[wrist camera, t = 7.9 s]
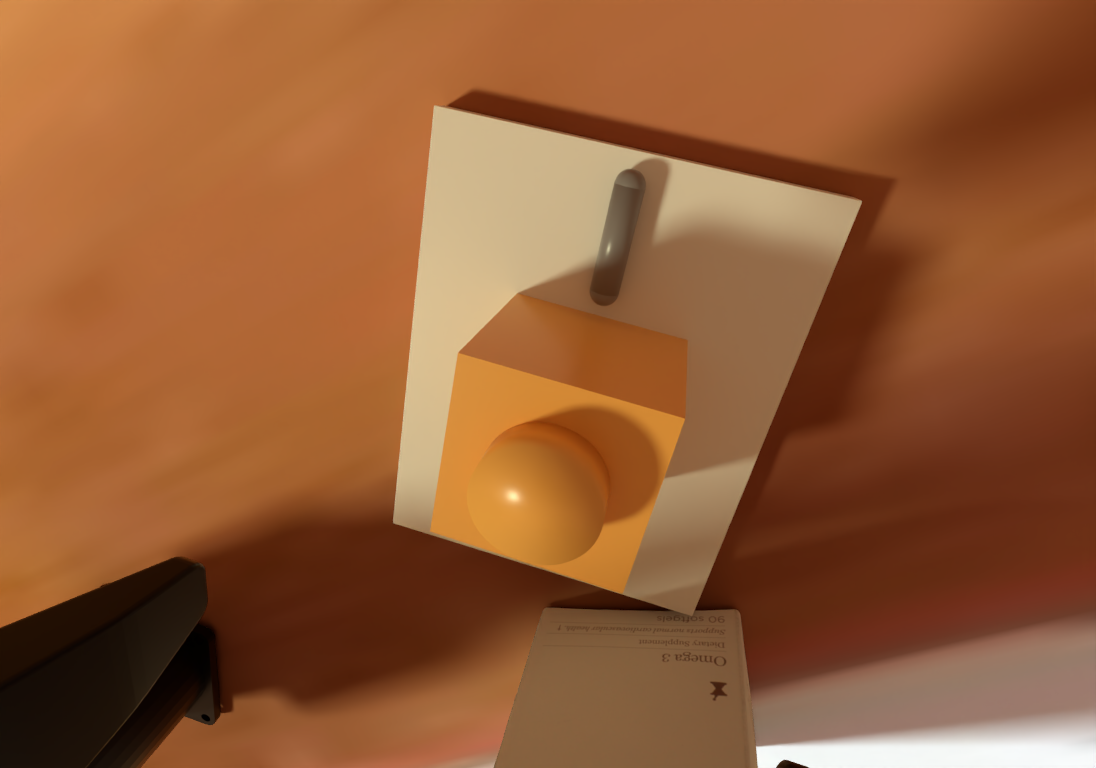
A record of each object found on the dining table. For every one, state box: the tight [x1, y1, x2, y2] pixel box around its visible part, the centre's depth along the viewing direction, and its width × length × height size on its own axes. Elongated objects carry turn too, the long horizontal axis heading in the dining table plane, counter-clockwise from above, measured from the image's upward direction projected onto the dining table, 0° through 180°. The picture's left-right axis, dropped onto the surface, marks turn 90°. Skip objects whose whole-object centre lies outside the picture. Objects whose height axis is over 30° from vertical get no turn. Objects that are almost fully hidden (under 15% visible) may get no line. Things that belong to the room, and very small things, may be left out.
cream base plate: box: [393, 105, 862, 616], centre depth 17 cm, size 14×11×5 cm
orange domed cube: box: [430, 293, 688, 594], centre depth 16 cm, size 5×5×6 cm
